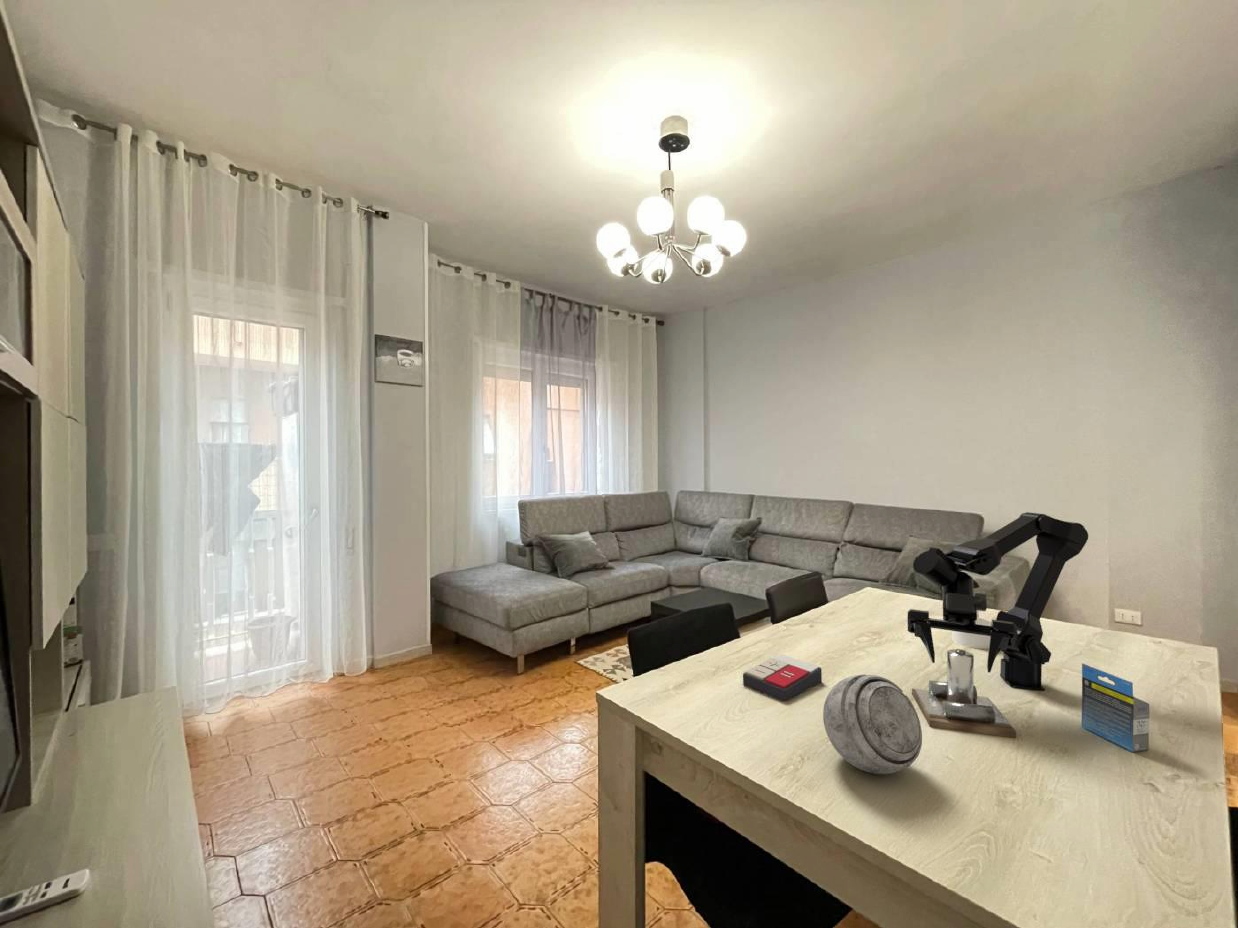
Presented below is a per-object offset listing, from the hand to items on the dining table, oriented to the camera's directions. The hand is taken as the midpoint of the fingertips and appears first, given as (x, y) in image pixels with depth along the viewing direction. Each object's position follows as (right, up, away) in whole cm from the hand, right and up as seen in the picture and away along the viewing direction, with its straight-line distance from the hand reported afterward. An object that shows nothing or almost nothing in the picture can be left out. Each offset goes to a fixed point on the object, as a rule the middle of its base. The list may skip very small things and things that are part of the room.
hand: (960, 666), depth 103 cm
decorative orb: (-25, -11, -16) cm, 32 cm away
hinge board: (+1, -10, +1) cm, 10 cm away
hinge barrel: (+1, -9, +1) cm, 9 cm away
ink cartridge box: (+23, -10, -8) cm, 26 cm away
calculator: (-30, -10, +16) cm, 36 cm away
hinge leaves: (+1, -9, +1) cm, 9 cm away
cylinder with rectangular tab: (+30, -9, +41) cm, 51 cm away
